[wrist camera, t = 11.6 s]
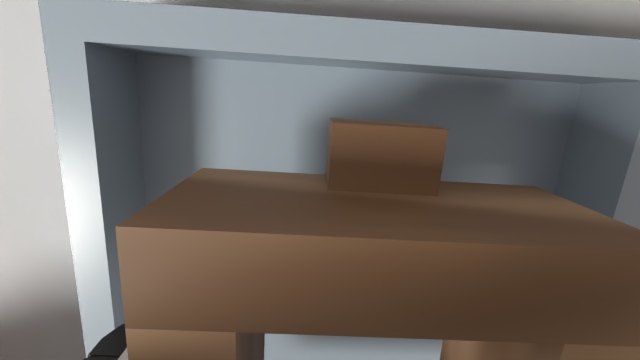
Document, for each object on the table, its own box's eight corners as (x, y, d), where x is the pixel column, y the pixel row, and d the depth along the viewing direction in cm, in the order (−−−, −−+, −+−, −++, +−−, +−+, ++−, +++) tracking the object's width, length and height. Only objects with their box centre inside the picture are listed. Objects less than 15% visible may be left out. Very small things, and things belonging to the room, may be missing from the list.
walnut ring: (475, 439, 11) (561, 619, 7) (208, 433, 11) (153, 618, 7) (547, 131, 9) (735, 160, 5) (200, 109, 8) (104, 123, 4)
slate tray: (593, 58, 12) (702, 43, 9) (501, 422, 16) (550, 508, 13) (117, 23, 11) (37, -6, 8) (150, 413, 16) (105, 501, 12)
